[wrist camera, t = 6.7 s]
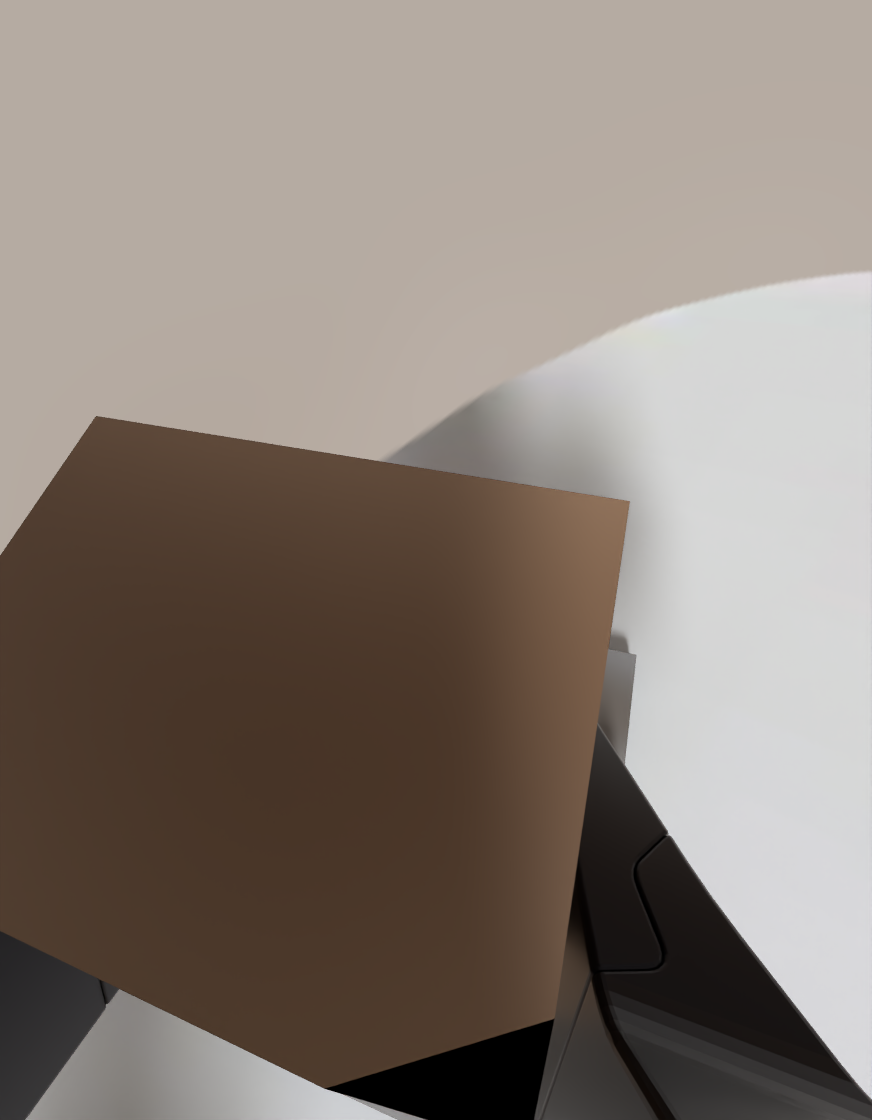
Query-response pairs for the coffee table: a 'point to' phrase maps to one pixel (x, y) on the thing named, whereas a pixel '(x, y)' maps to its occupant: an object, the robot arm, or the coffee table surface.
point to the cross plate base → (616, 730)
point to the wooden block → (307, 752)
